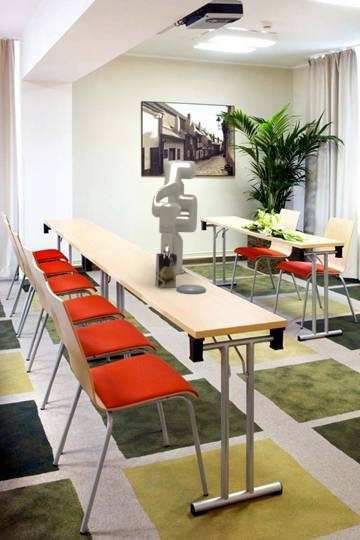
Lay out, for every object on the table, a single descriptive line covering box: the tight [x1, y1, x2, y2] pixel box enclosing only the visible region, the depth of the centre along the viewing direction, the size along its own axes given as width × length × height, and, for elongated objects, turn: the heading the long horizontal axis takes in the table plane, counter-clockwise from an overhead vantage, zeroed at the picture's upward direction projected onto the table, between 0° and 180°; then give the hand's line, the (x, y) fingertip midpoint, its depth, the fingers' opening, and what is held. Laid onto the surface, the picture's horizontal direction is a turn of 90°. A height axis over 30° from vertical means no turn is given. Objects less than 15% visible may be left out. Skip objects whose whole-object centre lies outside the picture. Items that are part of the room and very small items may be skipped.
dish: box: [176, 284, 207, 295], centre depth 294 cm, size 14×14×2 cm
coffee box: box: [155, 253, 177, 289], centre depth 300 cm, size 9×6×16 cm
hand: (166, 264), depth 299 cm, fingers open, 9 cm apart
